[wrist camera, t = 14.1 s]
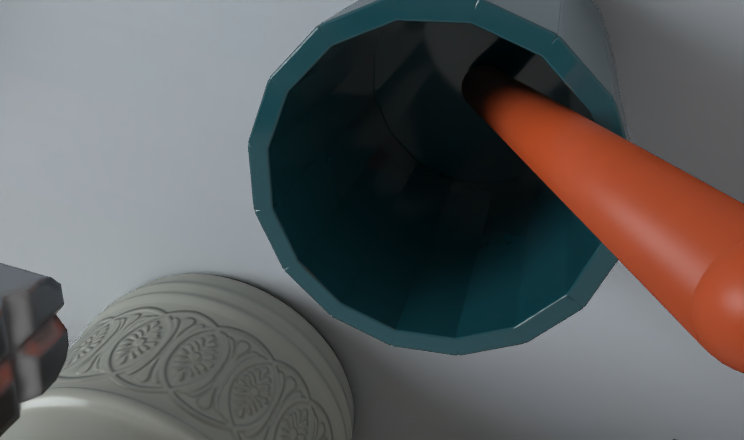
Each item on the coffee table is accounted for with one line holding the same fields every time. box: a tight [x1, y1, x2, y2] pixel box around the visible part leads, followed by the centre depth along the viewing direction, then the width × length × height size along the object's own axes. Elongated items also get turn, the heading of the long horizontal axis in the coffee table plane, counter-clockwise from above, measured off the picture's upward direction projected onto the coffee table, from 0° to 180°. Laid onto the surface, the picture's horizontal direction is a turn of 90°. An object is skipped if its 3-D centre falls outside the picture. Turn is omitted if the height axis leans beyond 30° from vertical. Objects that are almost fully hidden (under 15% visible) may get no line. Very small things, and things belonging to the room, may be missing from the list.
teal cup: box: [248, 0, 631, 355], centre depth 19 cm, size 8×8×10 cm
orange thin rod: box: [462, 65, 744, 373], centre depth 15 cm, size 1×1×18 cm
